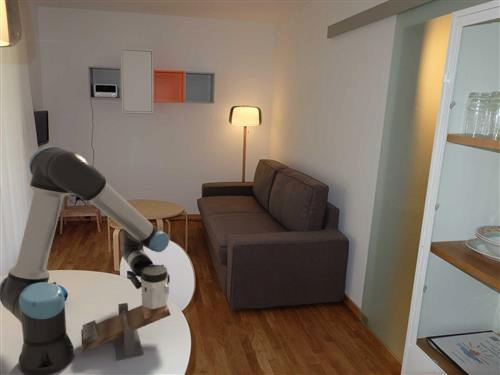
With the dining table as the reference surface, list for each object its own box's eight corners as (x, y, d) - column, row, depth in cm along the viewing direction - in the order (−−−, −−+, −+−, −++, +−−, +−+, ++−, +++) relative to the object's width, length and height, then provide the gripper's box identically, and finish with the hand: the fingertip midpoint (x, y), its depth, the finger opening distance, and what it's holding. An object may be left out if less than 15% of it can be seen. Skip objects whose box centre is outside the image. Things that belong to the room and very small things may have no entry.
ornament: (59, 313, 150) (57, 289, 147) (38, 310, 151) (36, 286, 149) (73, 302, 158) (71, 278, 155) (52, 299, 159) (51, 275, 157)
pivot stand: (116, 360, 126) (115, 335, 124) (111, 328, 142) (110, 305, 140) (143, 355, 129) (142, 330, 127) (135, 323, 145) (134, 301, 143)
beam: (84, 354, 124) (79, 345, 123) (82, 331, 136) (79, 322, 135) (171, 317, 133) (168, 308, 132) (163, 298, 145) (160, 289, 143)
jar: (146, 311, 131) (145, 278, 128) (138, 300, 138) (137, 267, 135) (172, 304, 136) (172, 271, 133) (163, 293, 143) (162, 262, 140)
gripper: (163, 268, 156) (185, 296, 136) (117, 277, 147) (133, 308, 128) (162, 250, 154) (185, 276, 134) (116, 258, 145) (133, 287, 126)
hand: (160, 292), depth 131 cm, fingers closed on jar, 4 cm apart
